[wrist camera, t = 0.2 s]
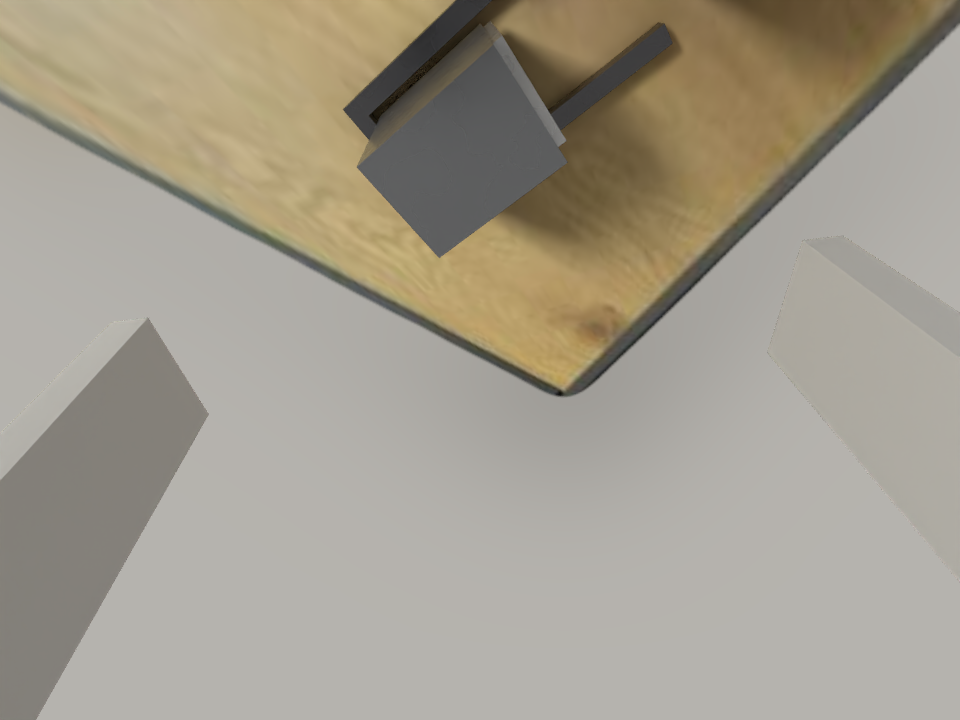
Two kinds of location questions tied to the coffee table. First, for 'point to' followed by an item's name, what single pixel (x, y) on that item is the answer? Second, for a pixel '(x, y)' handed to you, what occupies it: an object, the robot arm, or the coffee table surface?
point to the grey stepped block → (463, 142)
